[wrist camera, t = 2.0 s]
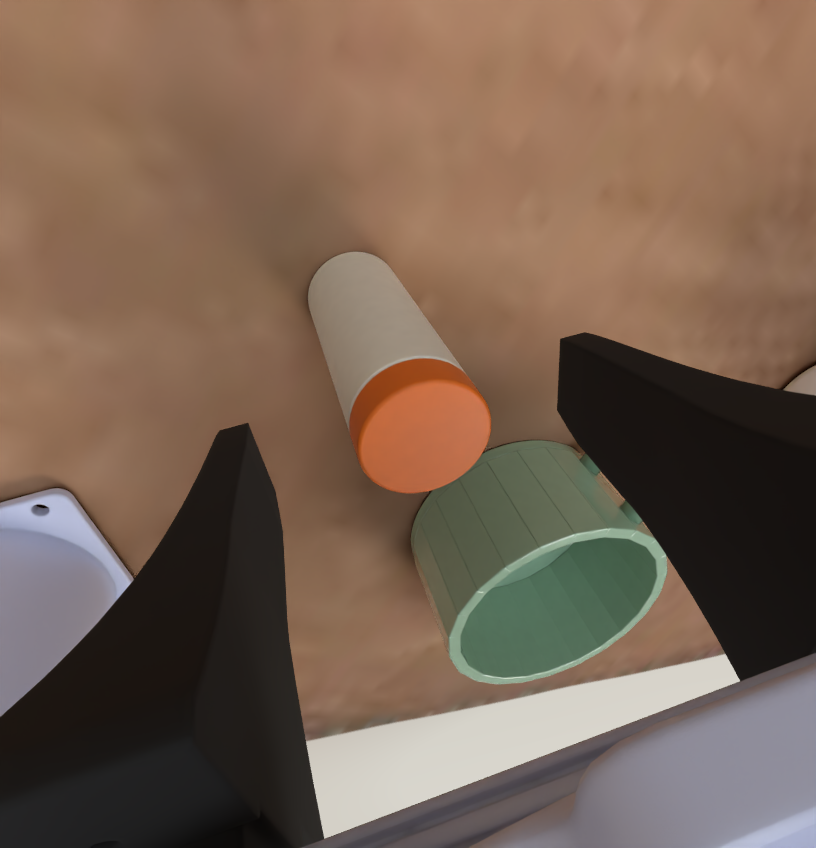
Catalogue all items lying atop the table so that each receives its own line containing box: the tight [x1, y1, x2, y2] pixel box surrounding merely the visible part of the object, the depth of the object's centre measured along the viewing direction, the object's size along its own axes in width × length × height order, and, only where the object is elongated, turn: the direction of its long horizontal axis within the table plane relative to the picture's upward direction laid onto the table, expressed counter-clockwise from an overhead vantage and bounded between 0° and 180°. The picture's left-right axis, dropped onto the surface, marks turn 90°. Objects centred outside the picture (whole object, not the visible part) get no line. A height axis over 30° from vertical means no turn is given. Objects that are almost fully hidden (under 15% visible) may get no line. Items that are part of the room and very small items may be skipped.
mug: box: [411, 440, 667, 684], centre depth 24 cm, size 12×10×6 cm
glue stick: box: [308, 252, 491, 493], centre depth 15 cm, size 3×3×8 cm
